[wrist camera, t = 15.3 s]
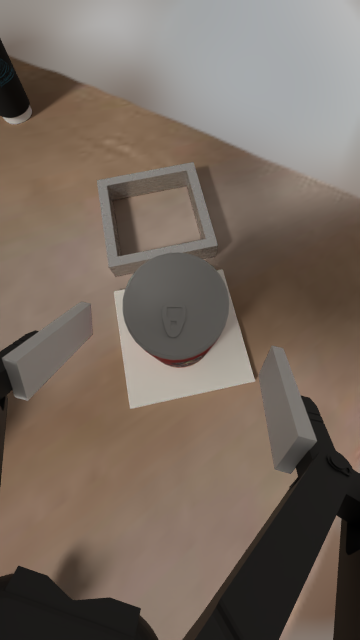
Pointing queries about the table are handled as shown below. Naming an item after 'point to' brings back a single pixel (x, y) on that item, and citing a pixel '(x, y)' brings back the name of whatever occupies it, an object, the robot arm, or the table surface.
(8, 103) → the dixie cup
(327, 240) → the table surface
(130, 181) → the square frame
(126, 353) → the tile
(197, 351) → the canned food
